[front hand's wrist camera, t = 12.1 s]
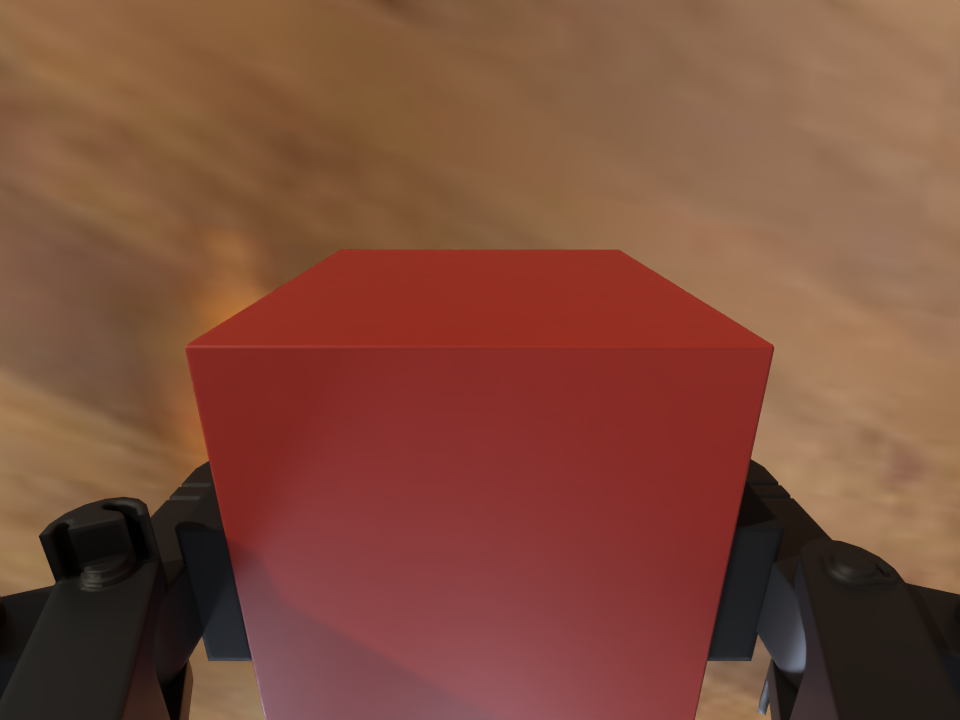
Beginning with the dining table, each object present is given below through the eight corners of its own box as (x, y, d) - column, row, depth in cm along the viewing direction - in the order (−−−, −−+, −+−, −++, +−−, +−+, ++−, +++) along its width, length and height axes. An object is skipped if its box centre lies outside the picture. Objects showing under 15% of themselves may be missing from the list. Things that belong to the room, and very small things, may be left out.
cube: (595, 502, 17) (685, 765, 9) (363, 502, 17) (273, 765, 9) (620, 249, 14) (777, 345, 7) (339, 249, 14) (182, 345, 7)
